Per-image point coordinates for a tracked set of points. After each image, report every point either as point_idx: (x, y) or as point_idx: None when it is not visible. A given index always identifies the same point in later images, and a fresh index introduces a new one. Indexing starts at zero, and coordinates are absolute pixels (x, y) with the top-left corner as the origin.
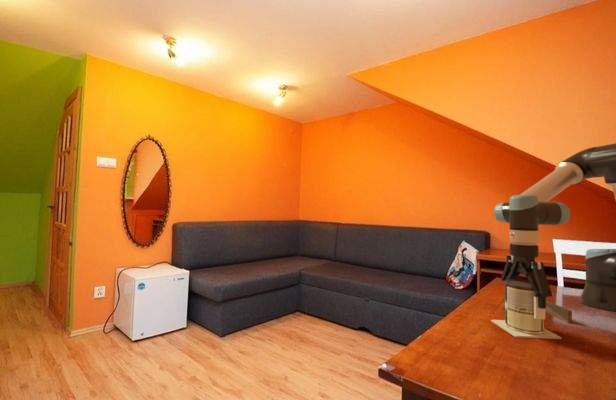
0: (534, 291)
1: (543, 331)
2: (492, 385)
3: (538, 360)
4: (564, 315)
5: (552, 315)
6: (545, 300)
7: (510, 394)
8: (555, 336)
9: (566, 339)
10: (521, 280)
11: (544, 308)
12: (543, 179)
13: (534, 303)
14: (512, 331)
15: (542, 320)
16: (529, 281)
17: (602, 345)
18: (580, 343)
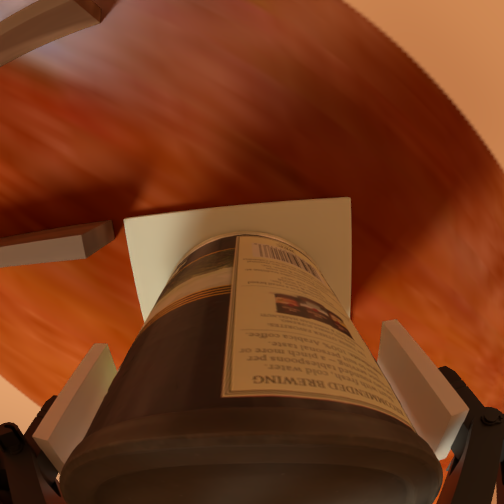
0: (444, 486)
1: (309, 259)
2: None
3: (477, 371)
4: (65, 20)
5: (18, 56)
6: (477, 401)
7: None
8: (342, 220)
9: (347, 172)
10: (87, 502)
11: (445, 372)
12: None
13: (414, 425)
14: None
15: (333, 292)
16: (106, 477)
17: (385, 58)
18: (383, 139)
